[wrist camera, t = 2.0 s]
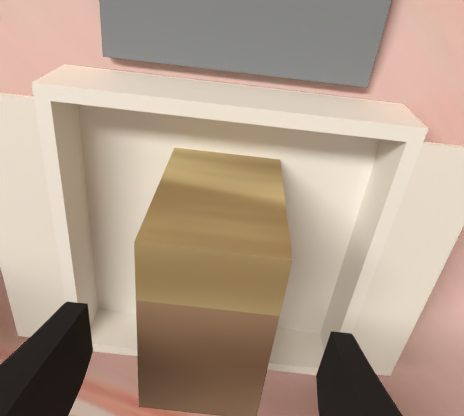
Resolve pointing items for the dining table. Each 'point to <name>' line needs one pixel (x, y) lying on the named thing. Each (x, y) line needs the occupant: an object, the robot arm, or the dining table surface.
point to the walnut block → (210, 282)
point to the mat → (250, 36)
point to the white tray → (232, 142)
